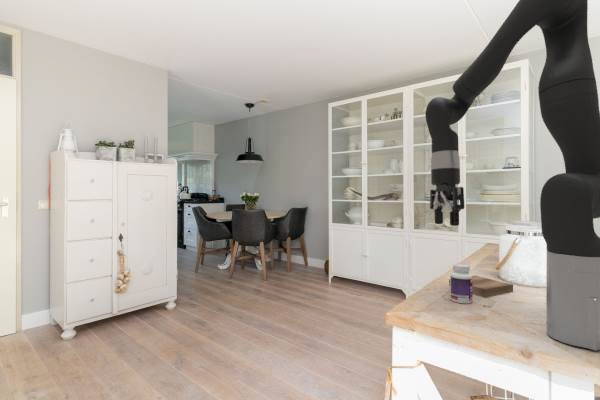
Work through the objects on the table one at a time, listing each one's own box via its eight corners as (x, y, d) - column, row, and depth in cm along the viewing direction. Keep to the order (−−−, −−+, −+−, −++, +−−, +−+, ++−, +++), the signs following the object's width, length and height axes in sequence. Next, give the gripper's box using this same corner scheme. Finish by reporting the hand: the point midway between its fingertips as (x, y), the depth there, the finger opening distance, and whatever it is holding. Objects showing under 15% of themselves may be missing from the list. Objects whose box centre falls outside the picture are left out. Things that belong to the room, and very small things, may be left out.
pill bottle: (475, 304, 82) (475, 267, 82) (453, 303, 83) (453, 266, 83) (468, 298, 88) (468, 263, 88) (447, 297, 89) (447, 262, 89)
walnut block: (513, 294, 92) (513, 284, 92) (484, 300, 88) (484, 289, 88) (476, 284, 103) (476, 275, 103) (449, 288, 99) (449, 279, 99)
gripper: (472, 164, 84) (474, 226, 83) (445, 171, 98) (446, 223, 98) (445, 164, 83) (446, 226, 83) (421, 171, 97) (422, 223, 97)
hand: (446, 224), depth 90 cm, fingers open, 8 cm apart
